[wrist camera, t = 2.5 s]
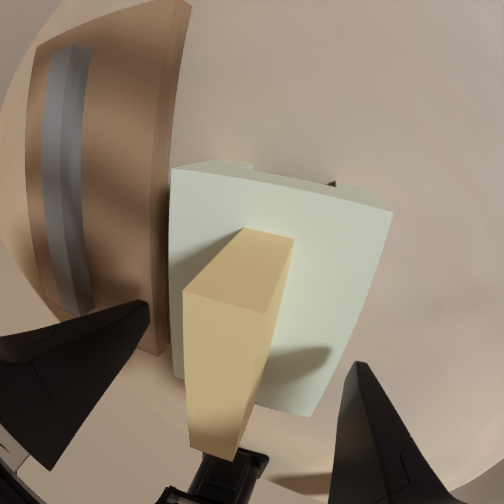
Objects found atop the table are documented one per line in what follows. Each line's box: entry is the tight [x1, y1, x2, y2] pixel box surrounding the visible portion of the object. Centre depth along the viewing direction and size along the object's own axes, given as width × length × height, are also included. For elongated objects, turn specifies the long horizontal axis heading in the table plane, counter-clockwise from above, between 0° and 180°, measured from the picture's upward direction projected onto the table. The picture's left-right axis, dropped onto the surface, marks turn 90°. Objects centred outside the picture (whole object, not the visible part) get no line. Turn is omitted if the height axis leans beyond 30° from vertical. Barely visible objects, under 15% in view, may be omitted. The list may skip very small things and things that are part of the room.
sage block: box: [169, 159, 394, 461], centre depth 10 cm, size 10×7×8 cm
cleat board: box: [25, 0, 192, 357], centre depth 13 cm, size 20×12×3 cm, turn 172°
